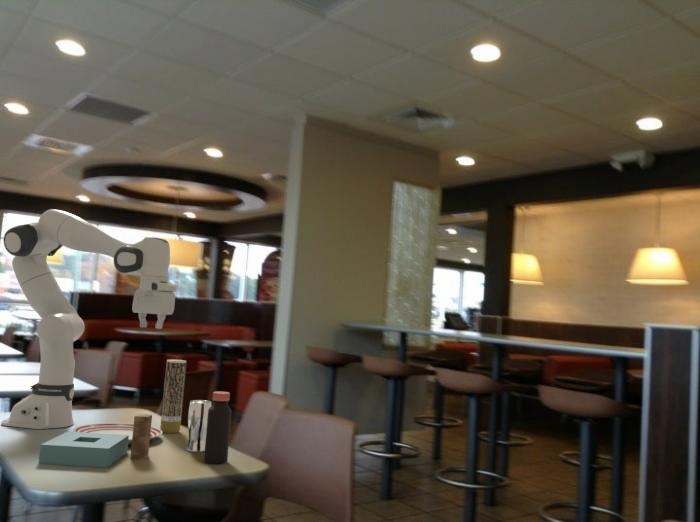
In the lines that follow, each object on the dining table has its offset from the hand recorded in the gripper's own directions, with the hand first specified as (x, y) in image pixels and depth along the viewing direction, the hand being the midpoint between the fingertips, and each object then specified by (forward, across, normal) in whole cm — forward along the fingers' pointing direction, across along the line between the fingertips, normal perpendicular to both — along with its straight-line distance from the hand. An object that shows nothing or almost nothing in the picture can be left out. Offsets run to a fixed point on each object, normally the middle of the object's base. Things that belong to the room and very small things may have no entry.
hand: (150, 327), depth 200 cm
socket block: (+36, +10, -23) cm, 44 cm away
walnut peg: (+37, +17, -10) cm, 42 cm away
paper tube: (+37, -10, +16) cm, 42 cm away
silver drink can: (+37, +17, +9) cm, 42 cm away
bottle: (+38, +32, +5) cm, 50 cm away
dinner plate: (+37, -8, -4) cm, 38 cm away
